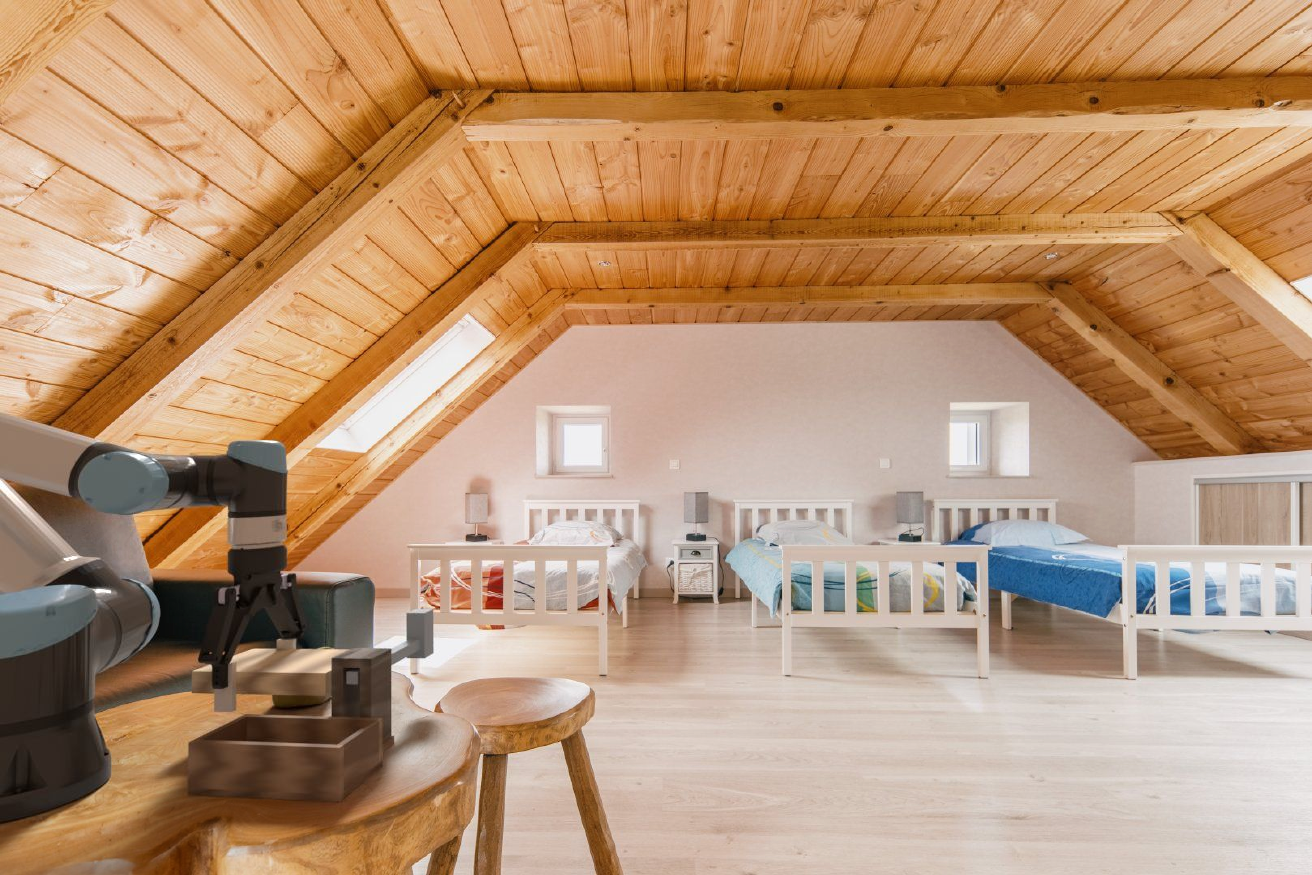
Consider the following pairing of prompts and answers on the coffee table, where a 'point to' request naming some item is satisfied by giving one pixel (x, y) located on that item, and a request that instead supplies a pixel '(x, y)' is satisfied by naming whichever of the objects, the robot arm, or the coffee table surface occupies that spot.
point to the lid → (276, 672)
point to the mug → (296, 698)
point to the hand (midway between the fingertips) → (257, 695)
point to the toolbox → (303, 742)
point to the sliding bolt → (408, 641)
